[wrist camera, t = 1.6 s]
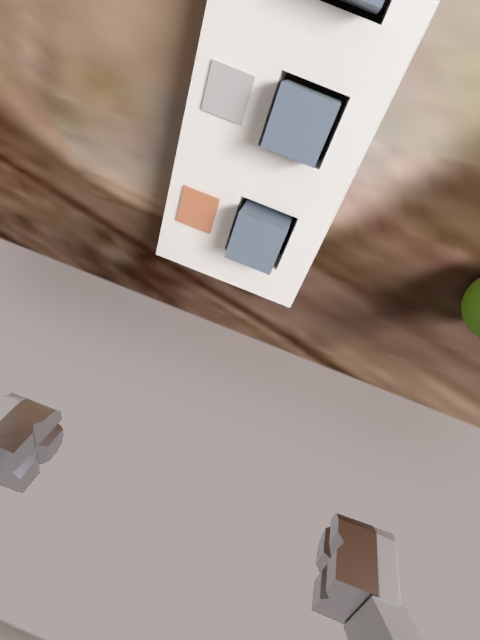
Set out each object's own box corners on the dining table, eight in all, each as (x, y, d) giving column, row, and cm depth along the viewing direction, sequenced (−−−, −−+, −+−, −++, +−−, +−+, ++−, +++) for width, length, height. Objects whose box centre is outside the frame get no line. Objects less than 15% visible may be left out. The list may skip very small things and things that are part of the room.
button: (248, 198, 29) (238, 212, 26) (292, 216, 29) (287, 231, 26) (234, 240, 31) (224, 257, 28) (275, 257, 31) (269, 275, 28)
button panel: (269, -217, 19) (258, -261, 17) (493, -128, 19) (517, -157, 17) (168, 240, 34) (154, 255, 32) (293, 290, 34) (289, 309, 32)
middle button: (287, 79, 24) (281, 81, 22) (341, 100, 24) (340, 105, 22) (268, 138, 26) (260, 146, 24) (317, 157, 26) (314, 168, 24)
